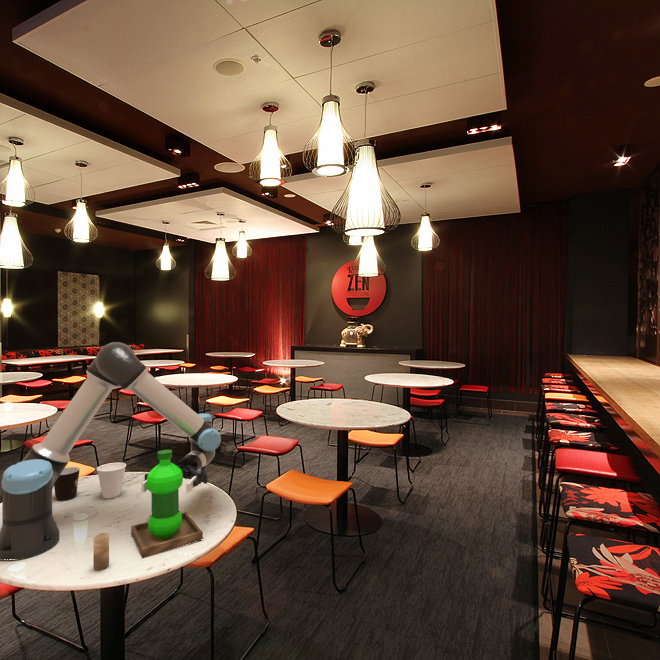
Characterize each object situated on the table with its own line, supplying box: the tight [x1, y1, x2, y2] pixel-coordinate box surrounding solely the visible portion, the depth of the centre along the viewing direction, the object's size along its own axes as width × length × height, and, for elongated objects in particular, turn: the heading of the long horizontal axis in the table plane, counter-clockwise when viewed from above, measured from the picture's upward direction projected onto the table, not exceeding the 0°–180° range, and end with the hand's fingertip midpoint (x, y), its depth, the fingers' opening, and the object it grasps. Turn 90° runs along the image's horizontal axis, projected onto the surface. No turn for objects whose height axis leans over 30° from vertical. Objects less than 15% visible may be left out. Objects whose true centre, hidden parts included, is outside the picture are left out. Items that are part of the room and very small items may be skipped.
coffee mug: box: [53, 466, 81, 502], centre depth 154 cm, size 12×9×10 cm
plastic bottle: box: [147, 449, 184, 538], centre depth 124 cm, size 10×10×25 cm
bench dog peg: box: [92, 532, 110, 572], centre depth 108 cm, size 4×4×8 cm
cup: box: [96, 462, 127, 500], centre depth 155 cm, size 10×10×11 cm
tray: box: [130, 511, 204, 559], centre depth 124 cm, size 17×17×2 cm
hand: (165, 488), depth 122 cm, fingers open, 13 cm apart
